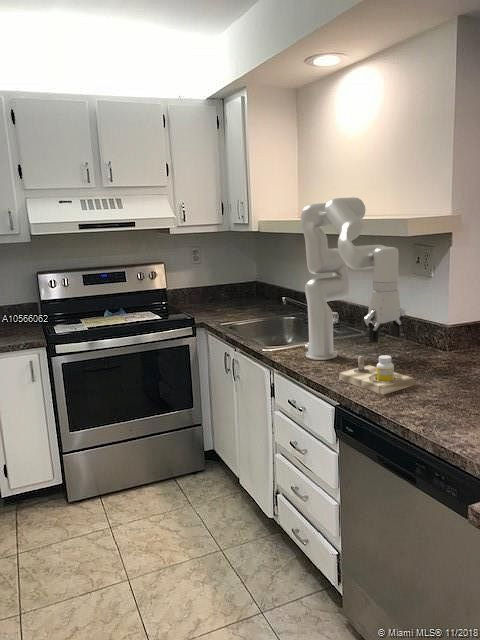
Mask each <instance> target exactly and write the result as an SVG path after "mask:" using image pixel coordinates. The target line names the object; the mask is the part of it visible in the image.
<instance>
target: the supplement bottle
mask: <svg viewBox="0 0 480 640" xmlns="http://www.w3.org/2000/svg"><path fill="white" fill-rule="evenodd" d="M376 367H377V380H378V381H384V382H390V381H394V372H395V366H394V363H393V362H392V356H390V355H386V354H385V355H384V354H383V355H379V356H378V363H377V364H376Z"/></svg>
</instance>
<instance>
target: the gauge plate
mask: <svg viewBox="0 0 480 640" xmlns="http://www.w3.org/2000/svg"><path fill="white" fill-rule="evenodd" d="M357 359H358V360H357V362H358V363H357V364H358V367H356V368H352V369H347V370H344V371H341V372H338V381H341V380H342V382H345V383H348V384H351V385H354V386H357V387H359V388H362V389H364V390H368V391H371V392H374V393H377V394H380V395H382V396H383V395H386V394H387V395H388V394H390V393H394V392H397V391H400V390H403V389H406V388H410V387H413V386H414V384H415V378H414V377H412V376H408V375H404V374H401V373H399V372H395V371H394V381H390V382H384V381H378V380H377V366H375V365H374V366H373V365H371V364H367V365H365V356H363V355H360V356H358V357H357Z"/></svg>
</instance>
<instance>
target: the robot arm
mask: <svg viewBox="0 0 480 640" xmlns="http://www.w3.org/2000/svg"><path fill="white" fill-rule="evenodd" d="M366 211H367V210H366V205H365V204H364V201H363V200H362V199H360V198H358V197H353V196H352V197H336V198H331V199H330V200H329V201H327V202H321V203H319V202H318V203H311V204H309V205H306V206H305V207H304V208H302V211H301V213H300V226H301V229H302V233H303V235H304V242H305V253H306V254H305V255H306V257H305V258H306V265H307V270H308V272H309V273H310V274H312V275H324V274H332V276H323V277H322V276H321V277H315V278H312V279H309V280H308V281H307V282H306V283H305V286H304V293H305V299H306V303H307V312H308V314H307V316H308V342H307V343H306V344H305V345H304V348H305V349H307V352H305V357H306V358H307V359H310V360H315V361H316V360H317V361H326V360H327V361H328V360H332V359H335V358H337V357H338V352H337V351H335V350H334V325H333V324H334V319H333V318H334V317H333V310H332V309H331V307H330V306H329V304H328V303H327V302H331V301H339V300H341V301H342V300H344V299H346V298H347V297H348V295H349V291H350V280H349V279H350V278H349V268H350V269H351V270H354V271H355V270H357V271H359V270H368V269H373V270H372V271H373V274H372V276H373V277H372V281H373V282H372V288H373V289H372V291H371V292H370V296H369V302H368V313H367V314H366V315H365V316H364V318H363V321H364V322H365V326H366V327H367V330H369V331H368V332H369V335H368V338H369V342H371V343H376V344H377V343H378V342H379V330H378V328H379V326H380V325H381V324H382V325H383V324H387V323H391V324H390V336H391V337H394V338H400V336H401V335H400V334H401V333H400V332H401V331H400V330H401V326H400V325H402V321H403V319H404V316H405V313H406V310H405V309H404V308H401V298H400V292H399V249H398V248H397V247H394V246H385V245H383V244H370V245H366V244H365V245H354V244H353V242H352V241H353V240H355V239H357V238H358V237H359V236H360V235H361V234H362V232H363V229H364V224H363V221H362V219H363V218H364V217H365V215H366ZM330 226H333V228H334V229H335V230H336V232H337V233H338V235H339V237H338V239H337V248H329V245H328V237H327V234H326V232H325V231H324V230H323V229H322V228H321V227H330Z"/></svg>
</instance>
